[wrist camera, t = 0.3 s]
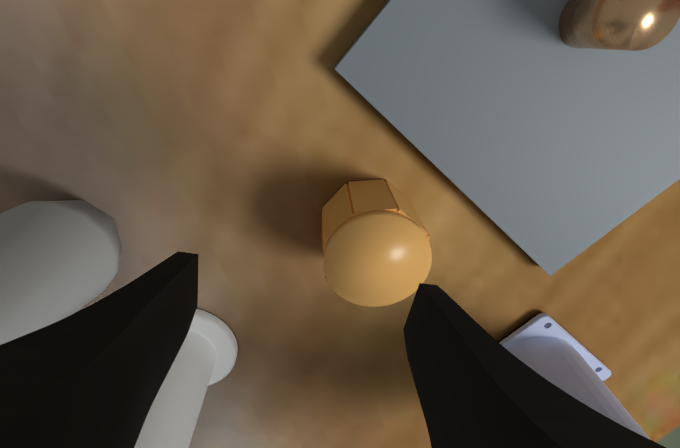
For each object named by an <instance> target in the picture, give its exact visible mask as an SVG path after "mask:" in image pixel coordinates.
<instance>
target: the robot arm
mask: <svg viewBox="0 0 680 448" xmlns="http://www.w3.org/2000/svg"><path fill="white" fill-rule="evenodd" d="M197 297H198V254H192V253H185V252H177V253H175V254H173V255H172V256H170V257H169V258H167V259H166V260H164V261H163V262H161V263H160V264H158V265H157V266H155V267H154V268H152V269H151V270H149V271H148V272H146V273H145V274H143V275H141V276H140V277H138V278H137V279H135V280H134V281H132V282H131V283H129V284H127V285H126V286H124V287H122V288H120V289H119V290H117V291H115V292H113V293H112V294H110V295H108V296H106V297H105V298H103V299H101V300H99V301H98V302H96V303H94V304H92V305H90V306H88V307H86V308H84V309H82V310H80V311H78V312H76V313H74V314H72V315H70V316H68V317H66V318H64V319H62V320H59V321H57V322H55V323H53V324H51V325H48V326H46V327H43V328H41V329H38V330H36V331H34V332H31V333H29V334H26V335H24V336H21V337H19V338H16V339H14V340H11V341H9V342H6V343H4V344H1V345H0V448H134V447H135V444H136V442H137V439H138V437H139V434H140V432H141V429H142V427H143V424H144V422H145V419H146V417H147V414H148V412H149V410H150V408H151V406H152V403H153V401H154V399H155V397H156V395H157V393H158V391H159V389H160V387H161V385H162V383H163V381H164V380H165V378H166V376H167V374H168V372H169V370H170V368H171V366H172V364H173V362H174V360H175V358H176V356H177V354H178V352H179V350H180V348H181V346H182V344H183V342H184V340H185V338H186V336H187V334H188V331H189V328H190V326H191V323H192V320H193V317H194V314H195V311H196V308H197ZM546 323H547V324H546ZM404 337H405V344H406V351H407V357H408V361H409V365H410V368H411V372H412V375H413V379H414V382H415V386H416V389H417V393H418V396H419V399H420V403H421V406H422V410H423V413H424V417H425V420H426V424H427V428H428V432H429V436H430V441H431V447H432V448H666V447H664V446H661V445H660V444H657V443H656V442H654V441H652V440H651V439H650V438H649V437H648V436H647V435H646V433H645V432H644V431H643V430H642V428H641V427H640V426H639V425H638V424H637V422H636V421H635V420H634V419H633V418H632V416H631V415H630V414H629V413H628V412H627V410H626V409H625V408H624V407H623V405H622V404H621V403H620V402H619V401H618V399H617V398H616V397H615V396H614V395H613V393H612V392H611V391H610V390H609V388H608V387H607V386H606V385H605V384H604V382H603V381H604V380H605V379H607V378H608V377H610V375H611V371H610V370H609V369H608V368H607V367H606V366H605V365H604V364H603V363H602V362H600V361H599V360H598V359H597V358H596V357H595V356H594V355H593V354H591V353H590V352H589V351H588V350H587V349H586V348H585V347H584V346H582V345H581V344H580V343H579V342H578V341H577V340H576V339H575V338H573V337H572V336H571V335H570V334H569V333H568V332H567V331H566V330H564V329H563V328H562V327H561V326H560V325H559V324H558V323H557V322H555V321H554V320H553V319H552V318H551V317H550V316H549V315H548V314H546V313H541V314H538V315H537V316H535V317H534V318H533V319H531V320H530V321H528V322H527V323H526V324H524V325H523V326H521V327H520V328H519V329H517V330H516V331H514V332H513V333H512V334H510V335H509V336H508V337H506V338H505V339H503V340H502V341H501V342H498V341H496V340H495V339H494V338H493V337H492V336H491V335H490V334H488V333H487V332H486V331H485V330H484V329H483V328H482V327H481V326H480V325H479V324H477V323H476V322H475V321H474V320H473V319H472V318H471V317H470V316H469V315H468V314H467V313H466V312H465V311H464V310H463V309H462V308H461V307H460V306H459V305H458V304H457V303H456V302H455V301H454V300H453V299H451V298H450V297H449V296H448V295H447V294H446V293H445V292H444V291H443V290H442V289H441V288H439V287H438V286H437V285H430V284H423V283H419V286H418V289H417V292H416V295H415V298H414V301H413V304H412V306H411V309H410V312H409V315H408V318H407V321H406V324H405V327H404Z"/></svg>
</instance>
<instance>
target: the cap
mask: <svg viewBox="0 0 680 448" xmlns="http://www.w3.org/2000/svg"><path fill="white" fill-rule="evenodd" d="M429 238H430V236H429V233H428V232H427V230H426V228H425V226H424V225H423V223H422V221H421V219H420V217H419V216H418V214H417V212H416V210H415V209H414V207H413V205H412V203H411V201H410V200H408V199H407V198H406V197H405V196H404V195H403V194H402V193H400V192H399V191H398V190H397V189H396V188H395V187H394V186H392V185H391V184H390V183H389V182H388V181H387V180H385V181H384V179H379V180H365V181H351V182H348V184H347V183H345V184H344V185H343V186H342V187H341V188H340V189H339V190H338V192H337V193H336V194H335V195H334V196H333V197H332V198H331V199H330V200H329V201H328V202H327V203H326V204H325V205H324V206H323V207H322V247H323V258H324V271H325V278H326V279H327V281H328V283H329V285H330V286H331V288H332V289H333V290H334V291H335V292H336V293H337V294H338V295H339V296H340V297H342V298H343V299H345V300H347V301H349V302H351V303H353V304H357V305H361V306H367V307H380V306H386V305H391V304H394V303H397V302H399V301H401V300H403V299H405V298H407V297H408V296H410V295H411V294H413V293H414V292H415V291H416V290H417V289H418V286H419V283H423V282H424V281H425V279H426V278H427V276H428V273H429V271H430V268H431V262H432V253H431V247H430V244H429Z"/></svg>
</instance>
